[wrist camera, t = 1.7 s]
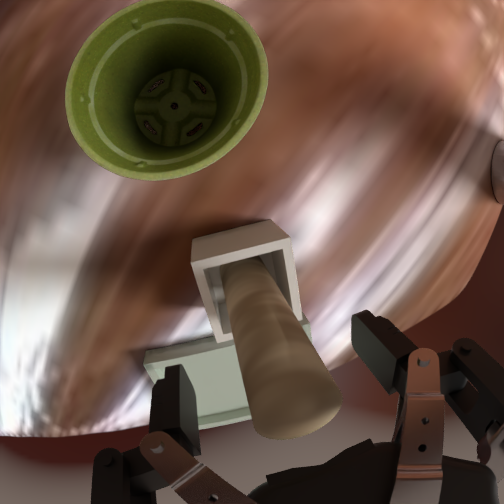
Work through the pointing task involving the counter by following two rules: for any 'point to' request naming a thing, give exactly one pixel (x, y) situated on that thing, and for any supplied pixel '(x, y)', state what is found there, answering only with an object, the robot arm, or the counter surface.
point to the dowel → (275, 356)
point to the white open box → (236, 248)
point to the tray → (209, 376)
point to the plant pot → (166, 87)
